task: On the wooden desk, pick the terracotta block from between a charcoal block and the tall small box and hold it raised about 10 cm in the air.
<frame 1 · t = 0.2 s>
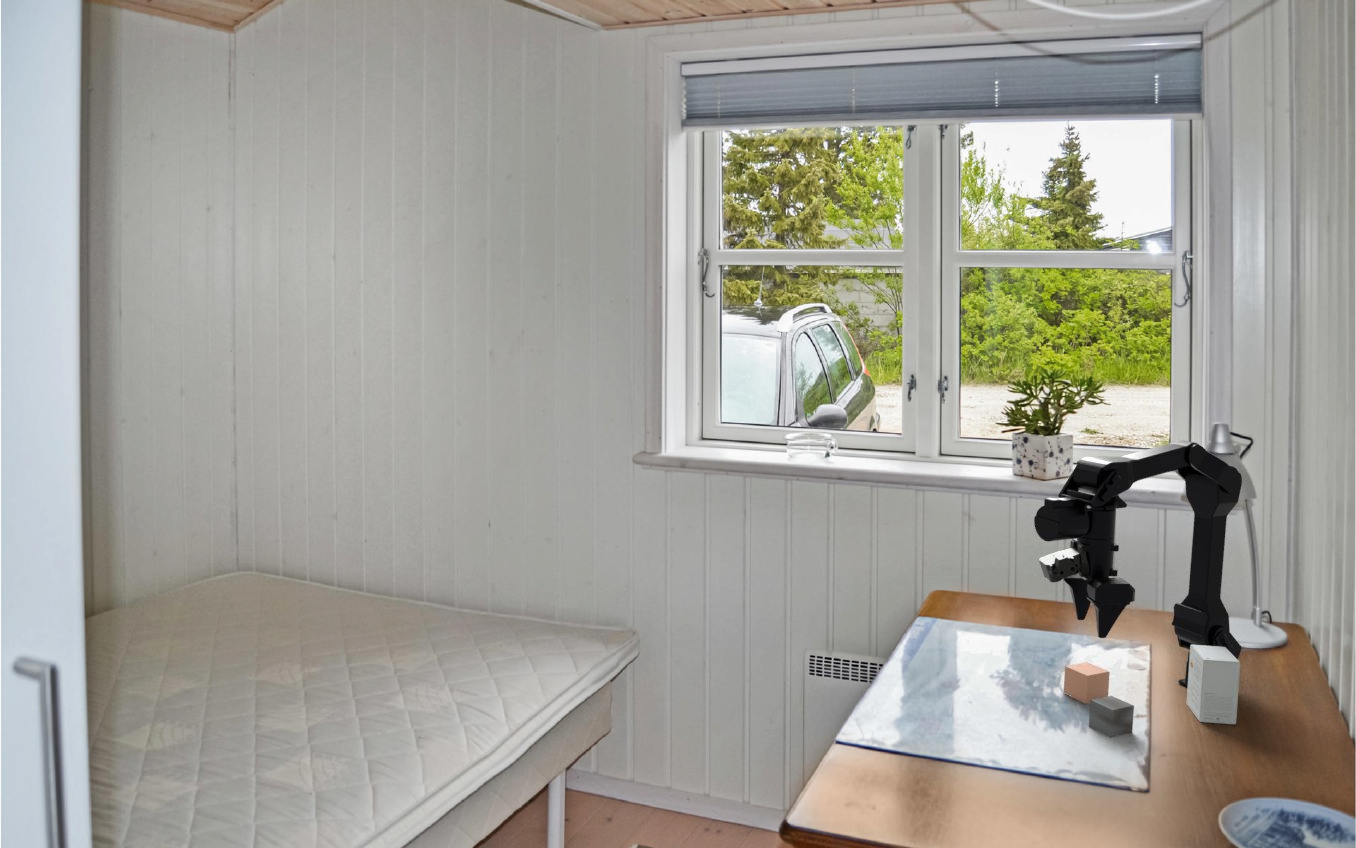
hand: (1091, 628, 175), 14 cm above the table, fingers open, 9 cm apart
charcoal block: (1110, 730, 168), on the table
small box: (1210, 716, 174), on the table
terracotta block: (1085, 697, 181), on the table
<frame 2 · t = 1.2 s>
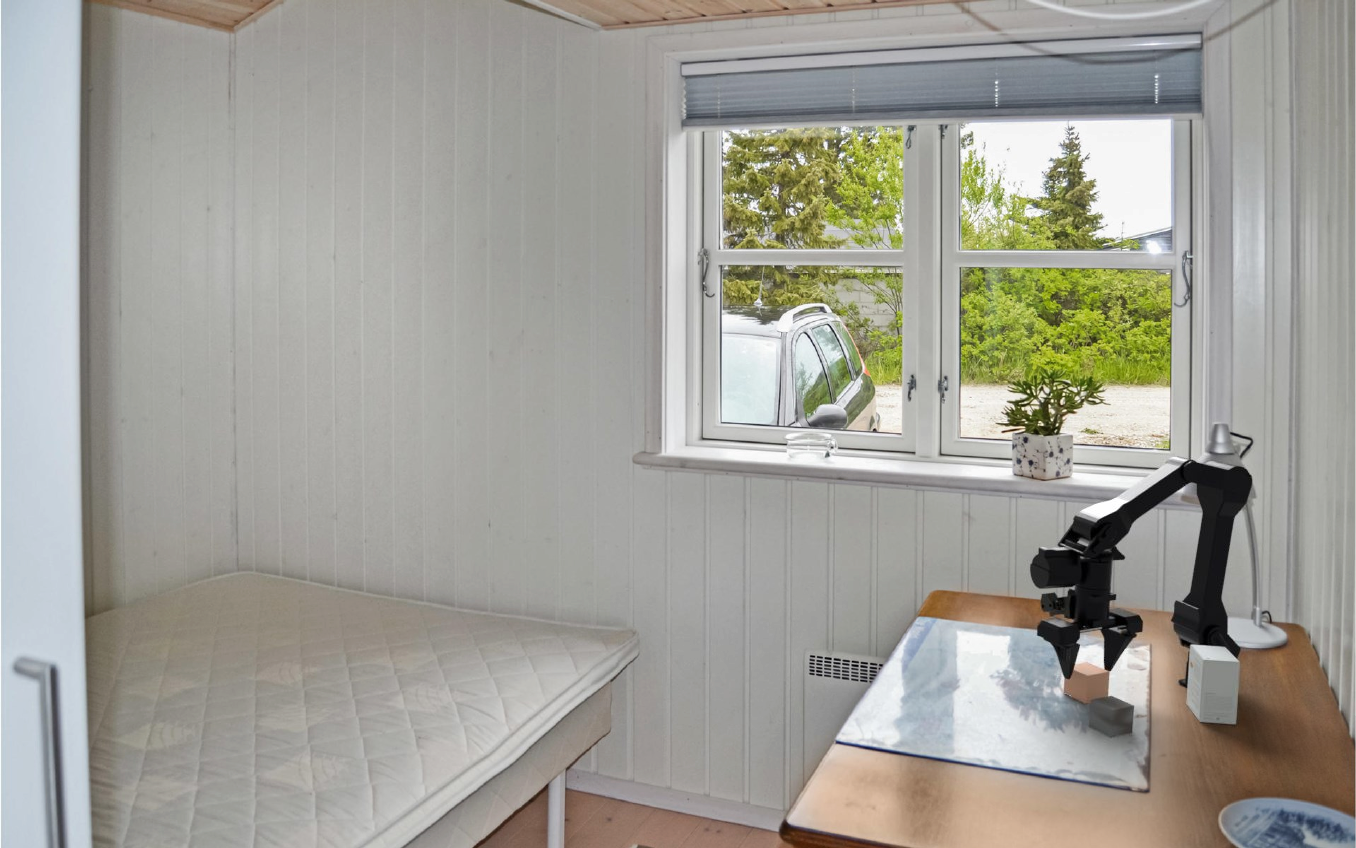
hand: (1087, 674, 181), 4 cm above the table, fingers open, 9 cm apart
nothing on the table moved.
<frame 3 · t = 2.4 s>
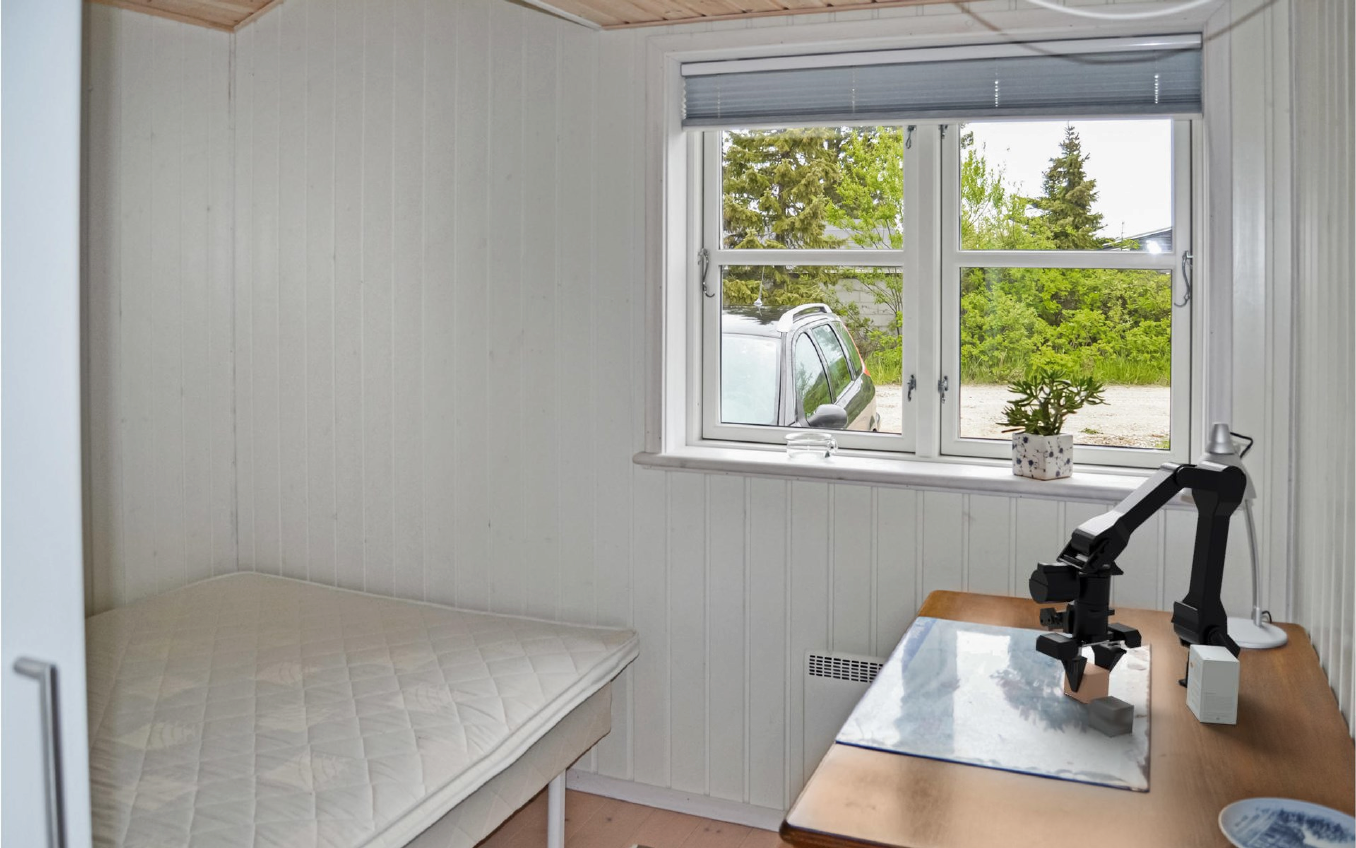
hand: (1086, 689, 181), 1 cm above the table, fingers closed on terracotta block, 5 cm apart
terracotta block: (1085, 696, 181), on the table, touching gripper
everything else where it was.
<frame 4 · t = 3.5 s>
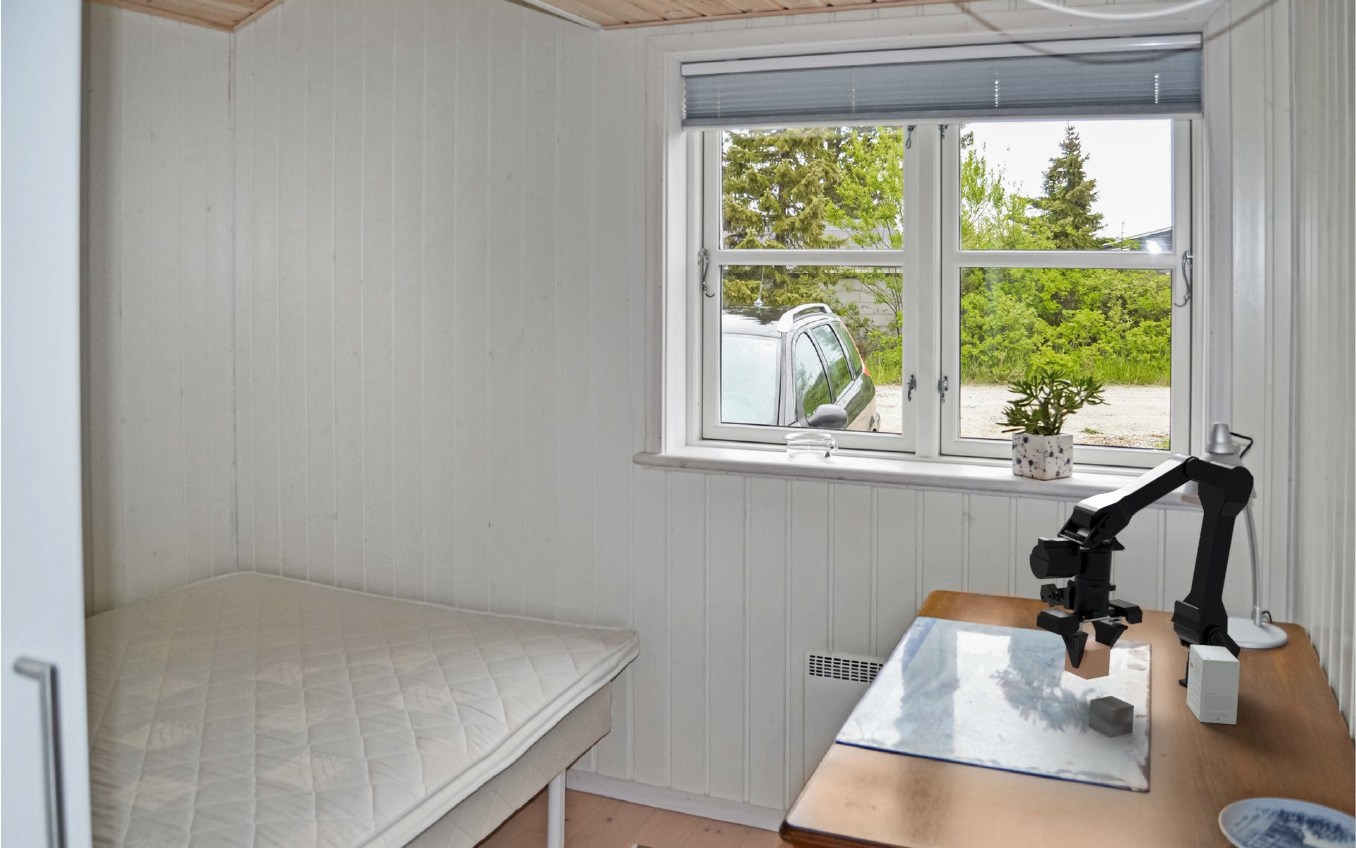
hand: (1086, 665, 181), 5 cm above the table, fingers closed on terracotta block, 5 cm apart
terracotta block: (1086, 672, 181), point 4 cm above the table, touching gripper
everything else where it was.
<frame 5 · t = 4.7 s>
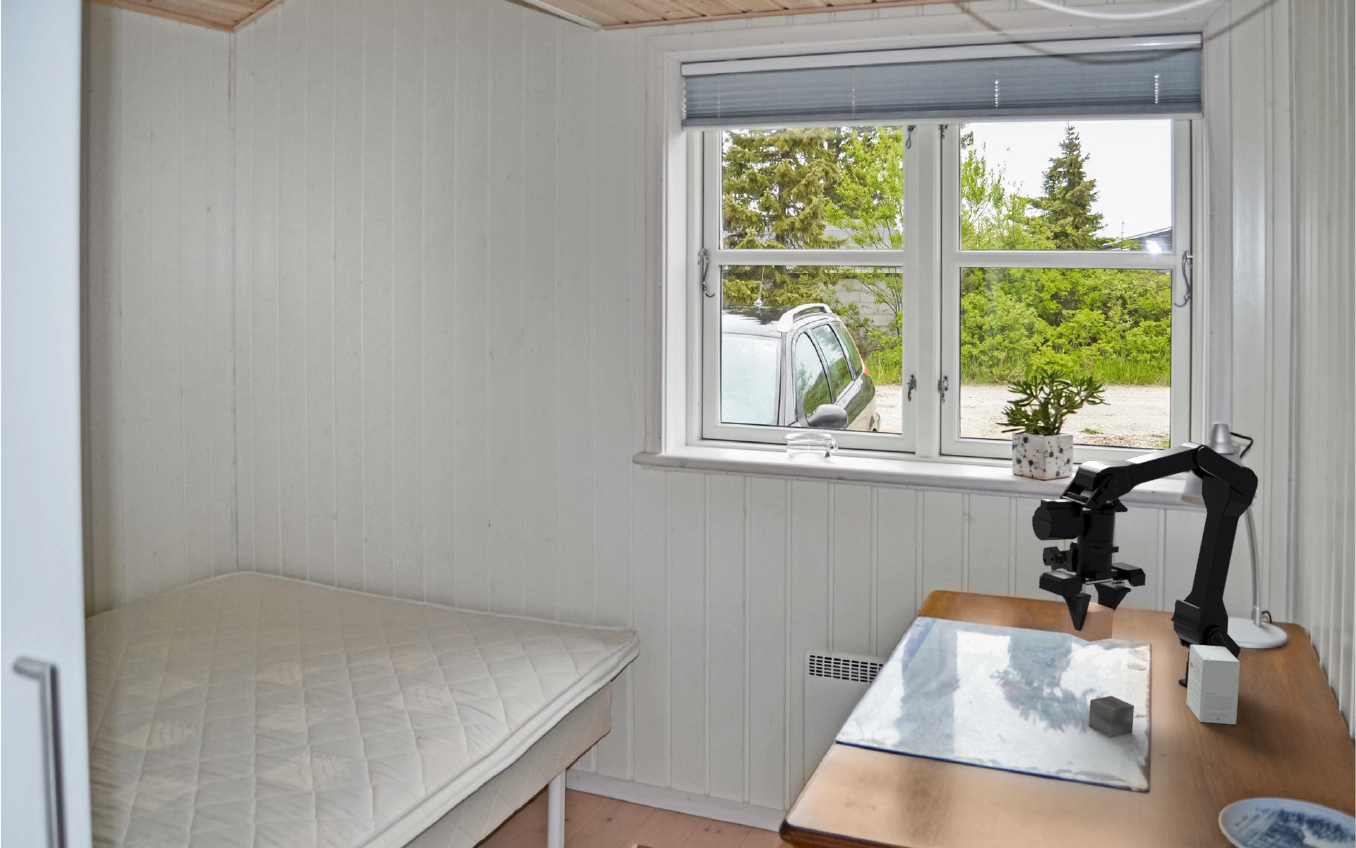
hand: (1089, 628, 180), 12 cm above the table, fingers closed on terracotta block, 5 cm apart
terracotta block: (1089, 635, 180), point 11 cm above the table, touching gripper
everything else where it was.
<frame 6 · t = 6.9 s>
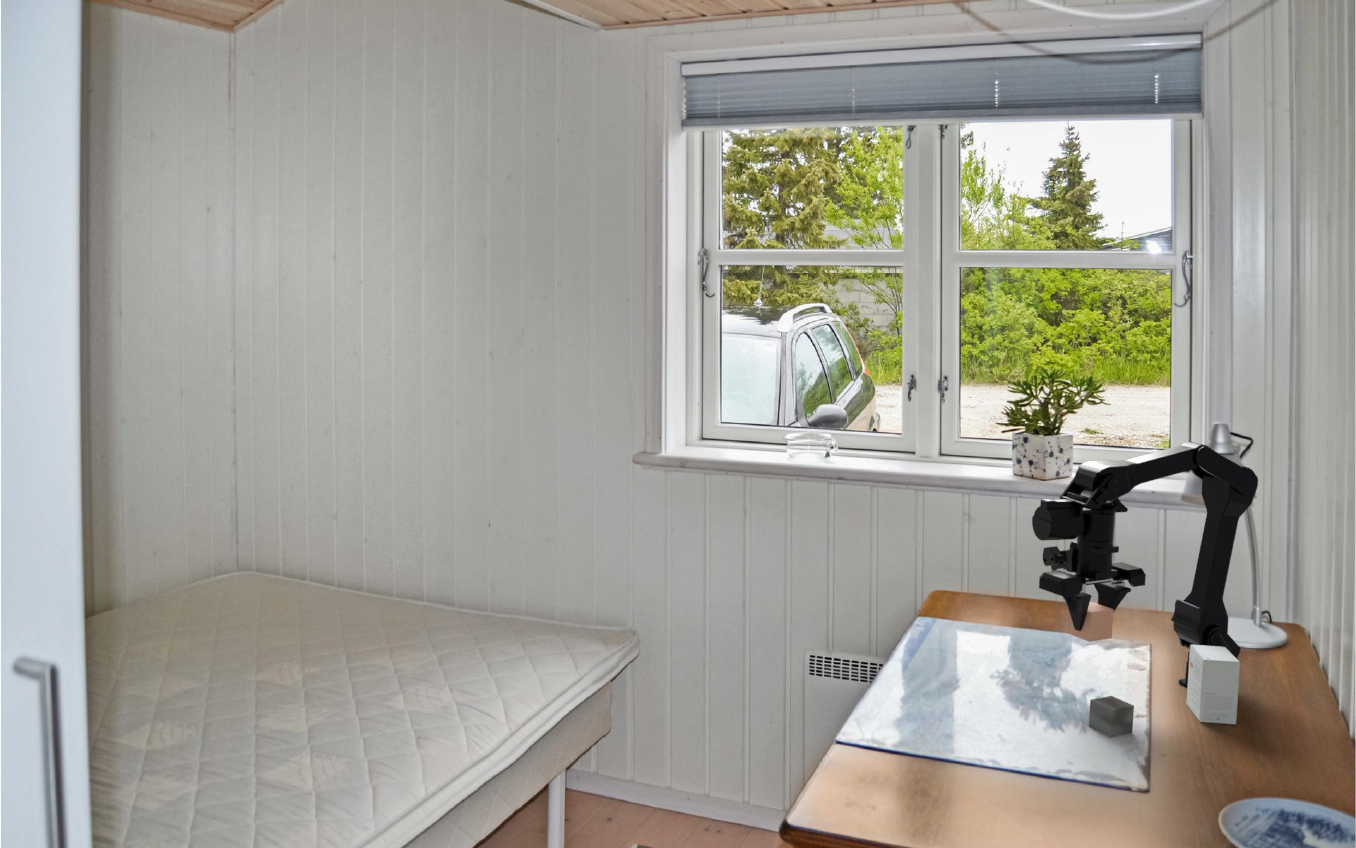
hand: (1089, 628, 180), 12 cm above the table, fingers closed on terracotta block, 5 cm apart
terracotta block: (1089, 635, 180), point 11 cm above the table, touching gripper
everything else where it was.
at the end: terracotta block point 10.7 cm above the table; charcoal block moved 0.1 cm from its start; small box moved 0.3 cm from its start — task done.
